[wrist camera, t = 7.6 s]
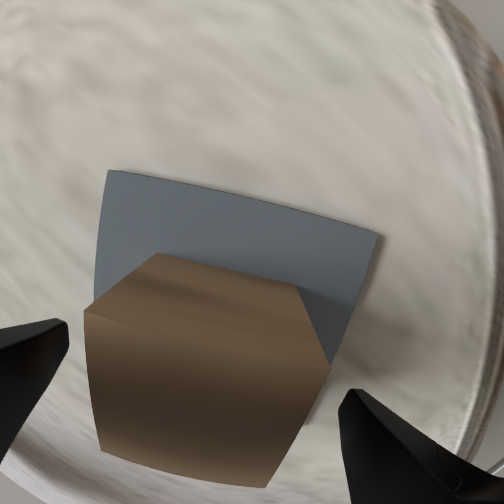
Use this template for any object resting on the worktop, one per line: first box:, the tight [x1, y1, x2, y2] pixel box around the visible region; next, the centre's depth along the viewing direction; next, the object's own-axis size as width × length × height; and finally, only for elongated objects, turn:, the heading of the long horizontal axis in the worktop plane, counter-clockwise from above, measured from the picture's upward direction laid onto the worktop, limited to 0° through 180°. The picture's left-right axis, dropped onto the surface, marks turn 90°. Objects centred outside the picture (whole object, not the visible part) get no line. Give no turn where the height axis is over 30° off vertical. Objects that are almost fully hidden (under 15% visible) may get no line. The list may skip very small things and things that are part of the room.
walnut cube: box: [84, 253, 330, 488], centre depth 8 cm, size 5×5×5 cm
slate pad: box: [94, 170, 378, 366], centre depth 11 cm, size 10×10×1 cm
